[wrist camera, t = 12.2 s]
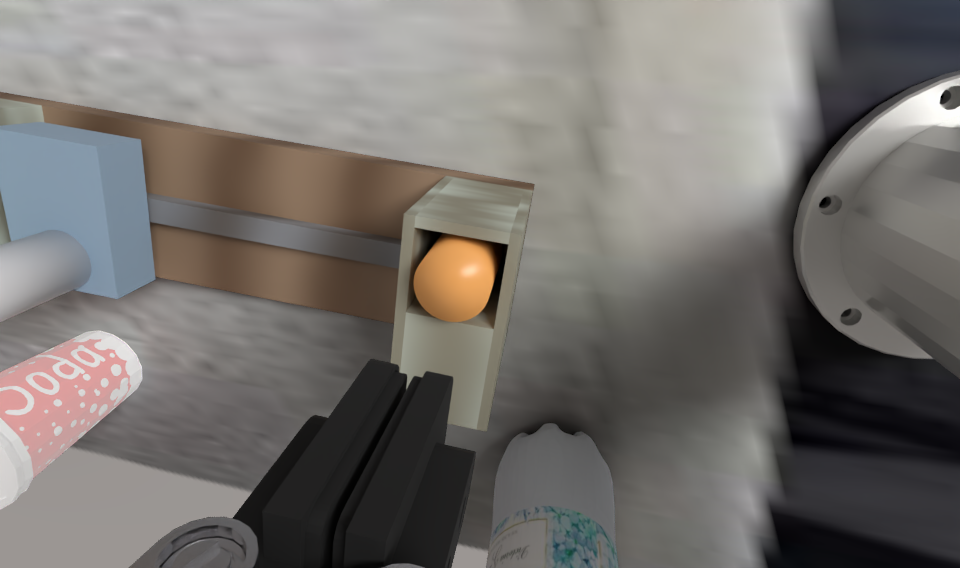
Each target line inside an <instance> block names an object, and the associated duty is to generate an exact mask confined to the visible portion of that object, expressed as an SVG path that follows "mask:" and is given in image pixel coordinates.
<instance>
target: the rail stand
mask: <svg viewBox="0 0 960 568" xmlns="http://www.w3.org/2000/svg"><path fill="white" fill-rule="evenodd" d="M33 122H44V123H50V124H56V125H61V126H67V127H73V128H79V129H84V130H90V131H96V132H101V133H107V134H113V135H118V136H124V137H130V138H135V139H141V146H142V155H143V165H144V174H145V184H146V193H147V203H148V213H149V222H150V232H151V241H152V251H153V261H154V270H155V277H159V278H164V279H169V280H175V281H180V282H185V283H190V284H195V285H200V286H205V287H210V288H215V289H220V290H225V291H230V292H236V293H241V294H246V295H251V296H256V297H261V298H266V299H271V300H276V301H281V302H286V303H291V304H297V305H302V306H307V307H312V308H317V309H322V310H327V311H332V312H337V313H342V314H347V315H353V316H358V317H363V318H368V319H373V320H378V321H383V322H388V323H393V324H394V330H393V341H392V352H391V363H393V364H397V365H398V366H399V372H400V373H404V374H407V387H406V389H407V388H408V386H409V384H410V382H411V380H412V378H413V377H414V376H418V377H423V375H424V373H425V372H426V371H430V372H434V373H439V374H444V375H448V376H453V388H452V395H451V402H450V409H449V416H448V422H447V424H452V425H457V426H462V427H466V428H471V429H476V430H481V431H486V432H487V427H488V422H489V418H490V413H491V408H492V403H493V398H494V393H495V389H496V384H497V379H498V374H499V369H500V364H501V359H502V355H503V350H504V345H505V340H506V335H507V330H508V325H509V319H510V314H511V309H512V303H513V298H514V292H515V287H516V281H517V276H518V271H519V265H520V260H521V254H522V249H523V244H524V238H525V233H526V227H527V222H528V216H529V211H530V206H531V200H532V195H533V189H534V184H530V183H525V182H519V181H513V180H507V179H501V178H496V177H490V176H484V175H478V174H472V173H467V172H461V171H455V170H449V169H443V168H438V167H432V166H426V165H420V164H414V163H409V162H403V161H397V160H391V159H385V158H380V157H374V156H368V155H362V154H356V153H351V152H345V151H339V150H333V149H327V148H322V147H316V146H310V145H304V144H299V143H293V142H287V141H281V140H275V139H270V138H264V137H258V136H252V135H246V134H241V133H235V132H229V131H223V130H217V129H212V128H206V127H200V126H194V125H188V124H183V123H177V122H171V121H165V120H159V119H154V118H148V117H142V116H136V115H130V114H125V113H119V112H113V111H107V110H101V109H96V108H90V107H84V106H78V105H72V104H67V103H61V102H55V101H49V100H43V99H38V98H32V97H26V96H20V95H14V94H9V93H3V92H0V126H2V125H13V124H23V123H33ZM442 233H448V234H454V235H459V236H465V237H470V238H476V239H481V240H487V241H492V242H498V243H502V249H503V253H502V258H501V262H500V265H499V268H498V271H497V274H496V278H495V281H494V284H493V287H492V290H491V293H490V296H489V299H488V302H487V304H486V306H485V307H484V309H483V310H482V311H481V312H480V313H479V314H478V315H476V316H475V317H473V318H471V319H469V320H466V321H462V322H448V321H444V320H441V319H438V318H436V317H434V316H432V315H431V314H430V313H428V312H427V311H426V310H425V309H424V308H423V307H422V306H421V304H420V303H419V301H418V299H417V297H416V294H415V291H414V275H415V272H416V270H417V268H418V266H419V264H420V263H421V262H422V260H423V259H424V257H425V256H426V255H427V253H428V252H429V251H430V249H431V248H432V247H433V245H434V244H435V242H436V241H437V240H438V238H439V237H440V236H441V234H442ZM8 242H11V238H10V234H9V229H8V224H7V219H6V215H5V210H4V205H3V201H2V196H1V191H0V245H1V244H5V243H8Z"/></svg>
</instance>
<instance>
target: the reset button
mask: <svg viewBox="0 0 960 568" xmlns="http://www.w3.org/2000/svg"><path fill="white" fill-rule="evenodd" d="M502 253H503V249H502V243H498V242H492V241H487V240H481V239H476V238H470V237H465V236H459V235H454V234H448V233H442V234H441V236H440V237H439V238H438V240H437V241H436V242H435V244H434V245H433V247H432V248H431V249H430V251H429V252H428V253H427V255H426V256H425V257H424V259H423V260H422V262H421V263H420V264H419V266H418V268H417V270H416V272H415V275H414V291H415V294H416V297H417V299H418V301H419V303H420V304H421V306H422V307H423V308H424V309H425V310H426V311H427V312H428V313H430V314H431V315H432V316H434V317H436V318H438V319H441V320H444V321H448V322H462V321H466V320H469V319H471V318H473V317H475V316H476V315H478V314H479V313H480V312H481V311H482V310H483V309H484V307H485V306H486V304H487V302H488V299H489V296H490V293H491V290H492V287H493V284H494V281H495V278H496V274H497V271H498V268H499V265H500V262H501V258H502Z"/></svg>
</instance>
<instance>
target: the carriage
mask: <svg viewBox="0 0 960 568" xmlns="http://www.w3.org/2000/svg"><path fill="white" fill-rule="evenodd" d="M0 191H1V196H2V201H3V205H4V210H5V215H6V219H7V224H8V229H9V234H10V238H11V242H8V243H5V244H1V245H0V322H2V321H5V320H7V319H9V318H11V317H13V316H16V315H18V314H20V313H22V312H25V311H27V310H29V309H31V308H34V307H36V306H38V305H40V304H43V303H45V302H47V301H49V300H51V299H54V298H56V297H58V296H60V295H63V294H65V293H67V292H69V291H72V290H75V291H80V292H85V293H90V294H95V295H100V296H105V297H110V298H115V299H119V298H121V297H123V296H125V295H127V294H128V293H130V292H132V291H134V290H136V289H138V288H140V287H142V286H144V285H146V284H148V283H150V282H152V281H154V280H155V270H154V261H153V251H152V241H151V232H150V222H149V213H148V203H147V193H146V184H145V174H144V165H143V155H142V146H141V139H135V138H130V137H124V136H118V135H113V134H107V133H101V132H96V131H90V130H84V129H79V128H73V127H67V126H61V125H56V124H50V123H44V122H33V123H23V124H13V125H2V126H0Z"/></svg>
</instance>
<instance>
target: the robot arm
mask: <svg viewBox="0 0 960 568" xmlns="http://www.w3.org/2000/svg"><path fill="white" fill-rule="evenodd" d="M943 93H944V96H943V99H942V100H941V101H940V97H941V95H942V94H943ZM825 197H826V202H825V203H824V204H823V205H821V206H819V203H820V202H821V200H822V199H823V198H825ZM793 255H794V260H795V265H796V269H797V274H798V278H799V280H800V283H801V285H802V287H803V289H804V291H805V293H806V295H807V297H808V299H809V300H810V301H811V303H812V304H813V305H814V306H815V308H816V309H817V310H818V311H819V313H820V314H821V315H822V316H823V317H824V318H825V319H826V320H827V321H828V322H829V323H830V324H831V325H832V326H834V327H835V328H836V329H837V330H838V331H839V332H841V333H843V334H844V335H846V336H847V337H849V338H851V339H852V340H854V341H855V342H857V343H859V344H860V345H863V346H866V347H868V348H871V349H874V350H876V351H879V352H882V353H884V354H889V355H895V356H900V357H905V358H911V359H935V360H936V361H938V362H939V363H940V364H941V365H943V366H944V367H945V368H947V369H948V370H949V371H951V372H952V373H953V374H954V375H956V376H957V377H958V378H960V71H956V72H952V73H947V74H943V75H941V76H938V77H936V78H933V79H930V80H928V81H925V82H923V83H920V84H918V85H915V86H913V87H910V88H908V89H907V90H905V91H903V92H901V93H900V94H898V95H896V96H894V97H893V98H891V99H889V100H887V101H886V102H884V103H882V104H880V105H879V106H877V107H876V108H875V109H874V110H872V111H871V112H870V113H869V114H867V115H866V116H865V117H864V118H862V119H861V120H860V121H859V122H857V123H856V124H855V125H854V126H852V127H851V128H850V129H849V130H848V131H847V132H846V134H845V135H844V136H843V137H842V138H841V139H840V140H839V141H838V142H837V143H836V144H835V145H834V146H833V147H832V149H831V150H830V151H829V152H828V153H827V155H826V156H825V158H824V159H823V161H822V162H821V164H820V165H819V167H818V168H817V170H816V171H815V173H814V174H813V176H812V177H811V180H810V182H809V184H808V186H807V189H806V191H805V193H804V195H803V198H802V200H801V202H800V205H799V209H798V214H797V218H796V223H795V227H794V248H793ZM406 387H407V374H404V373H400V372H399V366H398V365H397V364H393V363H388V362H383V361H379V360H374V359H370V360H369V361H368V363H367V364H366V366H365V367H364V368H363V370H362V371H361V373H360V374H359V375H358V377H357V378H356V380H355V381H354V382H353V384H352V385H351V387H350V388H349V390H348V391H347V392H346V394H345V395H344V397H343V398H342V399H341V401H340V402H339V404H338V405H337V406H336V408H335V409H334V411H333V412H332V413H331V415H330V416H329V418H326V417H322V416H317V415H314V416H312V417H310V418H309V419H308V421H307V422H306V423H305V424H304V425H303V427H302V428H301V429H300V431H299V432H298V433H297V435H296V436H295V437H294V439H293V440H292V441H291V442H290V444H289V445H288V446H287V448H286V449H285V450H284V452H283V453H282V454H281V456H280V457H279V458H278V459H277V461H276V462H275V463H274V465H273V466H272V467H271V469H270V470H269V471H268V473H267V474H266V475H265V476H264V478H263V479H262V480H261V482H260V483H259V484H258V486H257V487H256V488H255V490H254V491H253V492H252V493H251V495H250V496H249V497H248V499H247V500H246V501H245V503H244V504H243V505H242V507H241V508H240V509H239V510H238V512H237V513H236V514H235V516H234V517H233V518H232V519H231V518H227V517H207V518H203V519H199V520H195V521H191V522H189V523H187V524H184V525H182V526H180V527H178V528H176V529H174V530H173V531H171V532H170V533H169V534H167V535H166V536H164V537H163V538H162V539H160V540H159V541H158V542H157V543H155V544H154V545H153V546H152V547H151V548H150V549H149V550H148V551H147V552H146V553H144V554H143V555H142V556H141V557H140V558H139V559H138V560H137V561H136V562H135V563H134V564H132V565H131V566H130V567H129V568H451V567H452V563H453V559H454V555H455V551H456V546H457V542H458V538H459V534H460V530H461V526H462V522H463V518H464V513H465V509H466V504H467V499H468V494H469V489H470V484H471V479H472V473H473V467H474V461H475V454H476V452H474V451H470V450H465V449H461V448H457V447H452V446H448V445H444V443H445V436H446V429H447V422H448V416H449V409H450V402H451V395H452V388H453V376H448V375H444V374H439V373H434V372H430V371H426V372H425V373H424V375H423V377H418V376H414V377H413V378H412V380H411V382H410V384H409V386H408V388H407V389H406Z"/></svg>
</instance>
